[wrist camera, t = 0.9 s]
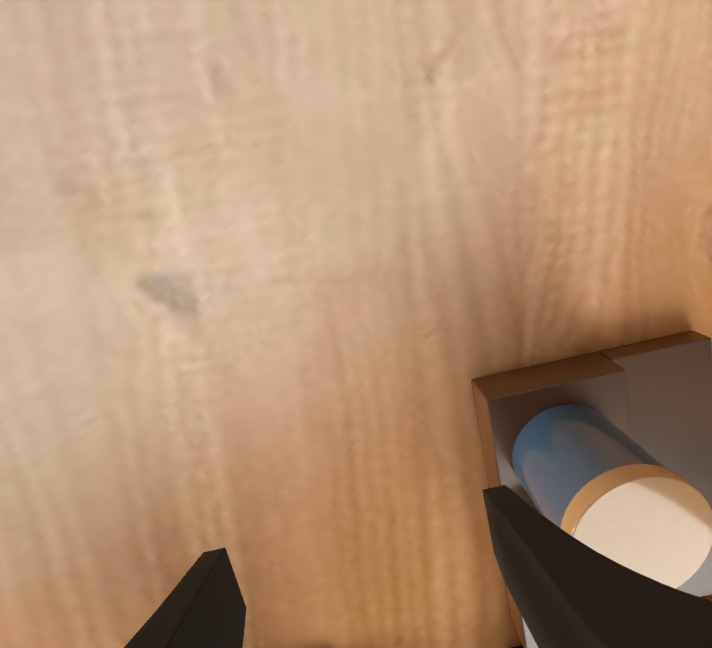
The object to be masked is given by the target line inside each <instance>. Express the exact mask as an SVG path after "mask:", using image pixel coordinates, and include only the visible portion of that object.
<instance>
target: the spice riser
mask: <svg viewBox="0 0 712 648" xmlns="http://www.w3.org/2000/svg"><path fill="white" fill-rule="evenodd" d="M471 382H472V388H473V394H474V400H475V406H476V411H477V417H478V423H479V429H480V435H481V441H482V447H483V453H484V459H485V465H486V471H487V477H488V483H489V488H493V487H497V486H502V485H506V486H507V487H509V488H510V489H511V490H512V491H514V492H515V493H516V494H517V495H518V496H519V497H521V498H522V499H523V500H524V501H525V502H527V503H528V504H529V505H530V506H532V507H533V508H534V509H535V510H537V508H536V506H535V505H534V503H533V502H532V500H531V499H530V497H529V495H528V494H527V492H526V491H525V489H524V488H523V486H522V484H521V483H520V481H519V480H518V478H517V476H516V474H515V471H514V468H513V461H512V455H513V448H514V444H515V441H516V439H517V437H518V435H519V433H520V431H521V430H522V429H523V427H524V426H525V425H526V424H527V423H528V422H529V421H530V420H531V419H532V418H533V417H535V416H536V415H537V414H539V413H541V412H542V411H544V410H546V409H549V408H551V407H555V406H558V405H564V404H578V405H584V406H587V407H590V408H593V409H595V410H597V411H598V412H600V413H601V414H602V415H604V416H605V417H606V418H607V419H608V420H610V421H611V422H612V423H613V424H614V425H616V426H617V427H618V428H619V429H620V430H622V431H623V432H624V433H625V434H626V435H628V436H629V437H630V438H631V439H632V440H634V441H635V442H636V443H637V444H638V445H640V446H641V447H642V448H643V449H644V450H646V451H647V452H648V453H649V454H650V455H652V456H653V457H654V458H655V459H656V460H657V461H659V462H660V463H661V464H662V465H663V466H665V467H666V468H667V469H670V470H672V471H673V472H675V473H677V474H678V475H680V476H681V477H682V478H684V479H685V480H686V481H687V482H689V483H690V484H691V485H692V486H694V487H695V488H696V489H697V490H698V491H699V492H700V493H701V494H702V495H703V496H704V497H705V499H706V500H707V502H708V503H709V506H710V508H711V510H712V346H711V338H710V337H708V336H705V335H702V334H700V333H697V332H695V331H690V332H686V333H681V334H676V335H672V336H667V337H663V338H658V339H654V340H649V341H644V342H640V343H635V344H631V345H626V346H622V347H617V348H612V349H608V350H603V351H599V352H595V353H591V354H586V355H581V356H577V357H572V358H568V359H563V360H558V361H554V362H549V363H545V364H540V365H536V366H531V367H526V368H522V369H517V370H513V371H508V372H504V373H499V374H494V375H490V376H485V377H481V378H476V379H472V381H471ZM537 511H538V510H537ZM538 512H539V511H538ZM505 585H506V582H505ZM677 589H678V590H680V591H683V592H686V593H689V594H692V595H695V596H697V597H704V596H708V595H712V547H711V550H710V552H709V554H708V556H707V558H706V560H705V561H704V563H703V565H702V566H701V567H700V568H699V570H698V571H697V572H696V573H695V574H694V575H693V576H692V577H691V578H690V579H689V580H688V581H687V582H685V583H684V584H683V585H681V586H680V587H678V588H677ZM506 591H507V597H508V603H509V609H510V615H511V619H512V621H513V624H514V626H515V628H516V631H517V633H518V636H519V638H520V640H521V643H522V645H523V648H538V646H537V644H536V642H535V640H534V638H533V637H532V635H531V633H530V631H529V629H528V627H527V625H526V623H525V621H524V619H523V617H522V615H521V613H520V611H519V609H518V607H517V605H516V603H515V601H514V600H513V598H512V596H511V594H510V592H509V590H508V587H507V585H506Z"/></svg>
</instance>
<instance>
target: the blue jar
mask: <svg viewBox="0 0 712 648" xmlns="http://www.w3.org/2000/svg"><path fill="white" fill-rule="evenodd" d="M512 461H513V468H514V471H515V474H516V476H517V478H518V480H519V481H520V483H521V484H522V486H523V488H524V489H525V491H526V492H527V494H528V495H529V497H530V499H531V500H532V502H533V503H534V505H535V506H536V508H537V510H538V511H539V513H541V514H542V515H543V516H545V517H546V518H547V519H549V520H550V521H551V522H553V523H554V524H555V525H557V526H558V527H560V528H561V529H562V530H564V531H565V532H567V533H568V534H570V535H571V536H573V537H574V538H576V539H577V540H579V541H580V542H582V543H583V544H585V545H587V546H588V547H590V548H591V549H593V550H595V551H596V552H598V553H600V554H602V555H604V556H606V557H608V558H609V559H611V560H613V561H615V562H617V563H619V564H621V565H623V566H625V567H627V568H629V569H631V570H633V571H635V572H637V573H640V574H642V575H644V576H646V577H649V578H651V579H653V580H655V581H658V582H660V583H662V584H665V585H668V586H670V587H673V588H675V589H677V588H678V587H680V586H681V585H683V584H684V583H685V582H687V581H688V580H689V579H690V578H691V577H692V576H693V575H694V574H695V573H696V572H697V571H698V570H699V568H700V567H701V566H702V565H703V563H704V561H705V560H706V558H707V556H708V554H709V552H710V550H711V547H712V510H711V508H710V506H709V503H708V502H707V500H706V499H705V497H704V496H703V495H702V494H701V493H700V492H699V491H698V490H697V489H696V488H695V487H694V486H692V485H691V484H690V483H689V482H687V481H686V480H685V479H684V478H682V477H681V476H680V475H678V474H677V473H675V472H673V471H672V470H670V469H667V468H666V467H665V466H663V465H662V464H661V463H660V462H659V461H657V460H656V459H655V458H654V457H653V456H652V455H650V454H649V453H648V452H647V451H646V450H644V449H643V448H642V447H641V446H640V445H638V444H637V443H636V442H635V441H634V440H632V439H631V438H630V437H629V436H628V435H626V434H625V433H624V432H623V431H622V430H620V429H619V428H618V427H617V426H616V425H614V424H613V423H612V422H611V421H610V420H608V419H607V418H606V417H605V416H604V415H602V414H601V413H600V412H598V411H597V410H595V409H593V408H590V407H587V406H584V405H578V404H564V405H558V406H555V407H551V408H549V409H546V410H544V411H542V412H541V413H539V414H537V415H536V416H535V417H533V418H532V419H531V420H530V421H529V422H528V423H527V424H526V425H525V426H524V427H523V429H522V430H521V431H520V433H519V435H518V437H517V439H516V441H515V444H514V448H513V455H512Z"/></svg>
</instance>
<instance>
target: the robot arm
mask: <svg viewBox="0 0 712 648" xmlns="http://www.w3.org/2000/svg"><path fill="white" fill-rule="evenodd" d="M483 494H484V500H485V505H486V511H487V516H488V522H489V527H490V533H491V538H492V543H493V549H494V553H495V556H496V559H497V561H498V564H499V567H500V569H501V572H502V575H503V577H504V580H505V582H506V585H507V587H508V590H509V592H510V594H511V596H512V598H513V600H514V601H515V603H516V605H517V607H518V609H519V611H520V613H521V615H522V617H523V619H524V621H525V623H526V625H527V627H528V629H529V631H530V633H531V635H532V637H533V638H534V640H535V642H536V644H537V646H538V648H712V601H709V600H706V599H703V598H700V597H697V596H695V595H692V594H689V593H686V592H683V591H680V590H678V589H675V588H673V587H670V586H668V585H665V584H662V583H660V582H658V581H655V580H653V579H651V578H649V577H646V576H644V575H642V574H640V573H637V572H635V571H633V570H631V569H629V568H627V567H625V566H623V565H621V564H619V563H617V562H615V561H613V560H611V559H609V558H608V557H606V556H604V555H602V554H600V553H598V552H596V551H595V550H593V549H591V548H590V547H588V546H587V545H585V544H583V543H582V542H580V541H579V540H577V539H576V538H574V537H573V536H571V535H570V534H568V533H567V532H565V531H564V530H562V529H561V528H560V527H558V526H557V525H555V524H554V523H553V522H551V521H550V520H549V519H547V518H546V517H545V516H543V515H542V514H541V513H539V512H538V511H537V510H535V509H534V508H533V507H532V506H530V505H529V504H528V503H527V502H525V501H524V500H523V499H522V498H521V497H519V496H518V495H517V494H516V493H515V492H514V491H512V490H511V489H510V488H509V487H507V486H506V485H502V486H497V487H493V488H488V489H484V490H483ZM245 615H246V606H245V603H244V600H243V597H242V594H241V592H240V589H239V586H238V583H237V580H236V577H235V574H234V571H233V569H232V566H231V563H230V560H229V557H228V554H227V551H226V549H225V548H222V549H217V550H213V551H208V552H204V553H203V554H202V555H201V556H200V557H199V558H198V560H197V561H196V562H195V563H194V565H193V566H192V567H191V568H190V570H189V571H188V572H187V573H186V575H185V576H184V577H183V578H182V580H181V581H180V582H179V583H178V585H177V586H176V587H175V588H174V590H173V591H172V592H171V593H170V595H169V596H168V597H167V598H166V599H165V601H164V602H163V603H162V604H161V606H160V607H159V608H158V609H157V610H156V612H155V613H154V614H153V615H152V616H151V617H150V619H149V620H148V621H147V622H146V623H145V624H144V625H143V627H142V628H141V629H140V630H139V631H138V632H137V633H136V634H135V636H134V637H133V638H132V639H131V640H130V641H129V642H128V644H127V645H126V646H125V647H124V648H242V647H243V637H244V627H245Z"/></svg>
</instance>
